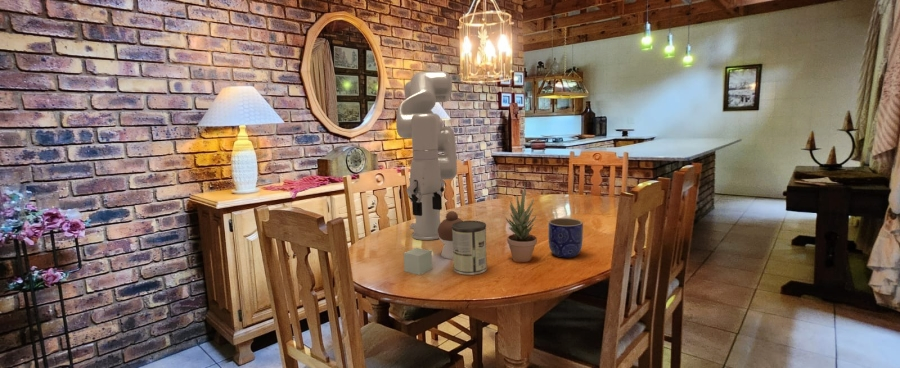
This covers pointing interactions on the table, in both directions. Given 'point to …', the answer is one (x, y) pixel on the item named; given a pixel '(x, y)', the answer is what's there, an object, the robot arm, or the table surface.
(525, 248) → the potted plant
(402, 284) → the table surface
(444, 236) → the figurine
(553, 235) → the planter
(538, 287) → the table surface
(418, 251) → the sage block
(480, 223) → the coffee can
